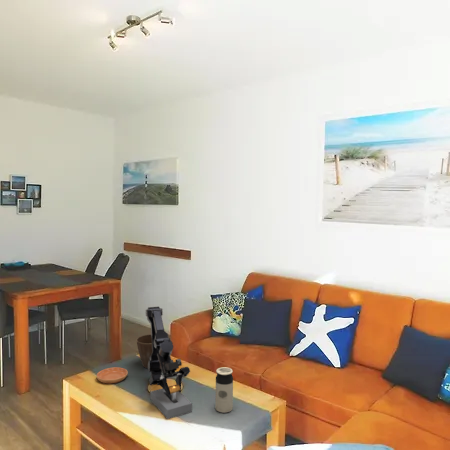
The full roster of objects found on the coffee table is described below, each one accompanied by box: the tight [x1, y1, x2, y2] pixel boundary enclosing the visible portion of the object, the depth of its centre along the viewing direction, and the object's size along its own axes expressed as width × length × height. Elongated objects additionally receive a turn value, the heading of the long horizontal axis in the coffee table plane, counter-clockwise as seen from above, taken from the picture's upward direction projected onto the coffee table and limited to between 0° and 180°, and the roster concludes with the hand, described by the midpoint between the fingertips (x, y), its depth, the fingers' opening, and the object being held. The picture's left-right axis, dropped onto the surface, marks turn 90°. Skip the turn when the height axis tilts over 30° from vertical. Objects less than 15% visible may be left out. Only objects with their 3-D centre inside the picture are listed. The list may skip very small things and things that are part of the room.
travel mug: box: [214, 366, 234, 414], centre depth 183 cm, size 8×8×18 cm
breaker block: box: [149, 387, 193, 420], centre depth 185 cm, size 20×12×4 cm, turn 32°
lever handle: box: [168, 384, 180, 403], centre depth 182 cm, size 3×5×10 cm
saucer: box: [96, 366, 129, 385], centre depth 213 cm, size 16×16×3 cm
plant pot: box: [136, 334, 152, 369], centre depth 229 cm, size 15×15×16 cm
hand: (175, 393), depth 181 cm, fingers closed on lever handle, 5 cm apart
